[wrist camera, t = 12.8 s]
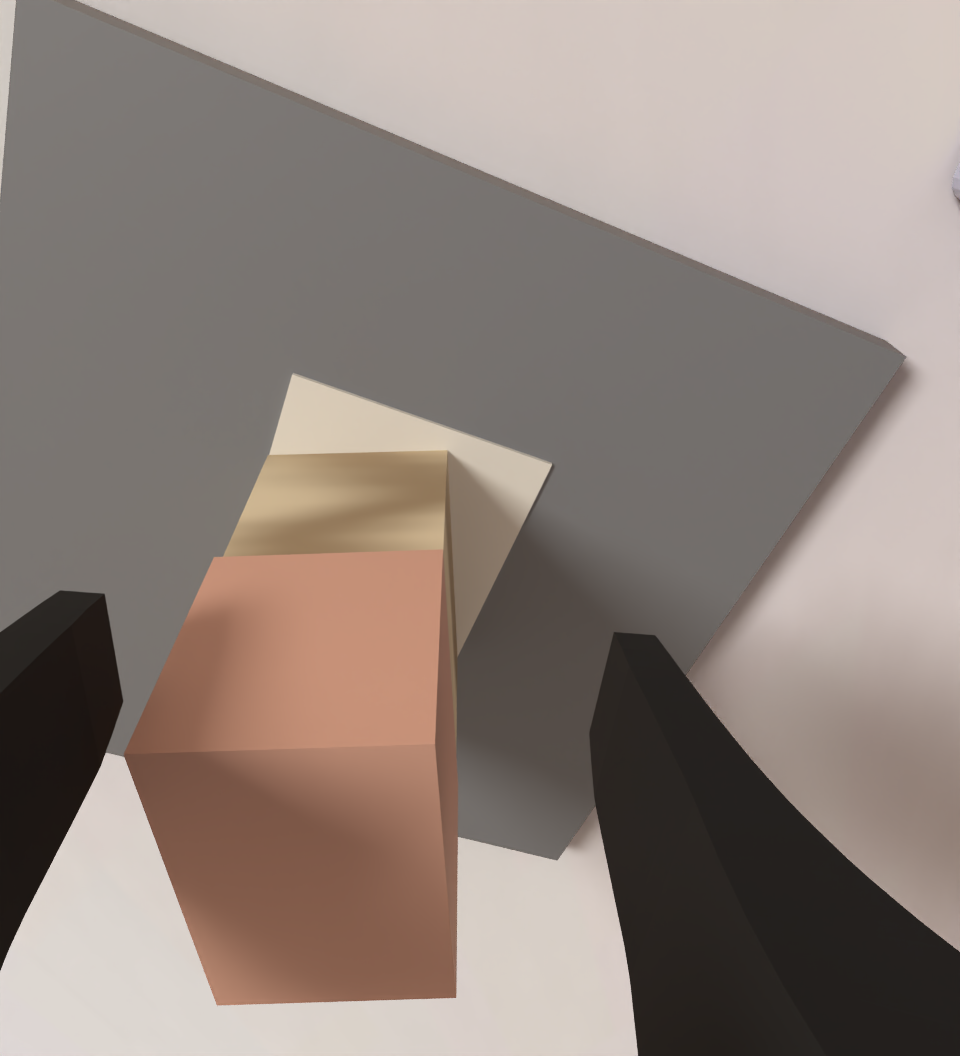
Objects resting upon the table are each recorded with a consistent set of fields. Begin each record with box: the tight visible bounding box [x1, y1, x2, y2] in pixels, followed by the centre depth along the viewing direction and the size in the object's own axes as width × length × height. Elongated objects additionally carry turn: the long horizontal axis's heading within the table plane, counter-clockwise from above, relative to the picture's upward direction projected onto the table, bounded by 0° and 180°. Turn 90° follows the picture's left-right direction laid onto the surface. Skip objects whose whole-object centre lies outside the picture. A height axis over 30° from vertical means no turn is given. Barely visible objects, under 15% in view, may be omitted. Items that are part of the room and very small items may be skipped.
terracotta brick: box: [124, 549, 458, 1005], centre depth 14 cm, size 4×6×4 cm, turn 2°
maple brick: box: [223, 450, 457, 743], centre depth 18 cm, size 4×6×4 cm, turn 1°
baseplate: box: [0, 0, 906, 860], centre depth 20 cm, size 18×18×1 cm
